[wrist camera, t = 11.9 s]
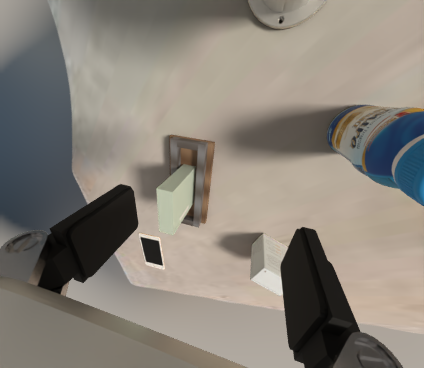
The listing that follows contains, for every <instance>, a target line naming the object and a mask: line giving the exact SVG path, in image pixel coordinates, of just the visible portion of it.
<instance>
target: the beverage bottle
mask: <svg viewBox="0 0 424 368" xmlns="http://www.w3.org/2000/svg"><path fill="white" fill-rule="evenodd" d="M327 141H328V144H329V146H330V147H331V148H332V149H333V150H334V151H335V152H337V153H339V154H341V155H342V156H344V157H345V158H346V159H347V160H349V161H350V162H351V163H352V164H353V166H354V167H355V168H356V169H357V170H358V171H360V172H361V173H363V174H364V175H366V176H368V177H369V178H371V179H372V180H373V181H375V182H377V183H379V184H381V185H384V186H388V187H392V188H398V189H400V190H401V191H403V192H404V193H405V194H407V195H408V196H409V197H411V198H412V199H414V200H415V201H417V202H418V203H419V204H421V205H422V206H424V109H421V108H412V107H406V108H391V107H378V106H372V105H357V106H353V107H350V108H348V109H346V110H344V111H343V112H341V113H340V114H339V115H337V116H336V117H335V118H334V120H333V121H332V122H331V124H330V126H329V128H328V131H327Z"/></svg>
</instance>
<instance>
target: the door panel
mask: <svg viewBox="0 0 424 368" xmlns="http://www.w3.org/2000/svg"><path fill="white" fill-rule="evenodd" d="M195 176H196V166H191V165H186V164H183V165H182V166H181V167H180V168H179V169H178V170H177V171H175V172H174V173H173V174H172V175H171V176H170V177H169V178H168V179H166V180H165V181H164V182H163V183H162V184H161V185H160V186H159V187H157V188H156V191H157V206H158V221H159V232H162V233H166V234H170V235H174V233H175V232H176V230H177V229H178V227H179V225H180V224H181V222H182V221H183V219H184V217H185V216H186V214H187V213H188V211H189V209H190V208H191V206H192V205H193V203H194V193H195Z"/></svg>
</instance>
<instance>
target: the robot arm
mask: <svg viewBox="0 0 424 368" xmlns="http://www.w3.org/2000/svg"><path fill="white" fill-rule="evenodd" d="M326 1H327V0H248V3H249V6H250V8H251V10H252V12H253V14H254V15H255V17H256V18H257V19H258V20H259V21H260V22H261V23H263V24H264V25H266V26H268V27H271V28H275V29H286V28H291V27H294V26H297V25H299V24H301V23H303V22H304V21H306V20H308V19H309V18H310V17H312V16H313V15H314V14H315V13H316V12H317V11H318V10H319V9H320V8H321V7H322V6H323V5H324V4H325V2H326ZM280 20H282V23H281V24H280V23H279V21H280ZM137 227H138V218H137V211H136V204H135V197H134V191H133V190H132V188H131V187H130V186H127V185H122V184H120V185H118V186H116V187H115V188H113V189H112V190H110V191H108V192H107V193H105V194H104V195H102V196H100V197H99V198H97V199H96V200H94V201H92V202H91V203H89V204H88V205H86V206H85V207H83V208H81V209H80V210H78V211H77V212H75V213H74V214H72V215H70V216H69V217H67V218H66V219H64V220H62V221H61V222H59V223H58V224H56V225H54V226H53V227H52V228H50V230H51V234H50V235H48V234H47V233H46V232H45V231H42V230H34V231H29V232H25V233H22V234H19V235H17V236H15V237H13V238H11V239H10V240H9V241H7V242H6V243H5V244H4V245H3V246H2V247H1V248H0V368H246V367H245V366H242V365H240V364H237V363H235V362H232V361H230V360H227V359H225V358H222V357H219V356H217V355H214V354H212V353H209V352H207V351H204V350H202V349H199V348H197V347H194V346H192V345H189V344H187V343H184V342H182V341H179V340H177V339H174V338H171V337H169V336H166V335H164V334H161V333H159V332H156V331H153V330H151V329H148V328H145V327H143V326H141V325H138V324H136V323H133V322H130V321H128V320H125V319H123V318H120V317H118V316H115V315H112V314H110V313H107V312H105V311H102V310H99V309H97V308H94V307H92V306H89V305H86V304H84V303H81V302H79V301H76V300H73V299H71V298H68V297H66V293H67V289H68V284H69V281H70V280H71V279H72V278H74V280H76V281H79V282H82V283H84V282H85V281H86V280H87V278H88V277H91V276H93V275H94V274H95V273H96V272H97V270H99V268H100V267H101V266H102V265H103V264H104V263H105V262H106V261H107V260H108V259H109V258H110V257H111V255H113V253H114V252H115V251H116V250H117V249H118V248H119V247H120V246H121V245H122V244H123V243H124V242H125V241H126V240H127V238H128V237H129V236H130V235H131V234H132V233H133V232H134V231H135V230H136V229H137ZM280 271H281V280H282V290H283V299H284V308H285V316H286V326H287V335H288V344H289V348H290V349H291V350H293V352H294V359H295V361H298V362H301V363H304V366H305V368H403V367H402V365H401V363H400V362H399V361H398V359H397V358H396V357H395V356H394V355H393V353H392V352H391V351H390V350H389V349H388V348H387V347H386V346H385V345H384V344H382V343H381V342H379V341H378V340H377V339H375V338H374V337H372V336H370V335H368V334H366V333H362V332H360V330H359V327H358V325H357V322H356V320H355V318H354V315H353V313H352V311H351V308H350V306H349V303H348V301H347V299H346V296H345V294H344V291H343V289H342V287H341V284H340V282H339V279H338V277H337V275H336V272H335V270H334V268H333V266H332V264H331V263H330V262H329V261H328V260H327V258H326V255H325V253H324V250H323V248H322V245H321V243H320V240H319V238H318V235H317V233H316V231H315V230H313V229H309V228H305V227H302V228H301V229H297V230H296V232H295V234H294V236H293V238H292V240H291V243H290V245H289V247H288V249H287V251H286V253H285V256H284V258H283V260H282V262H281V266H280Z"/></svg>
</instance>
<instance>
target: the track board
mask: <svg viewBox="0 0 424 368" xmlns="http://www.w3.org/2000/svg"><path fill="white" fill-rule="evenodd" d="M169 145H170V176H171V175H172V174H173V173H174V172H175V171H177V170H178V169H179V168H180V167H181V166H182V165H183V164H186V165H191V166H196V176H195V193H194V203H193V205H192V206H191V208H190V209H189V211H188V213H187V214H186V216H185V217H184V219H183V221H182V222H181V223H183V224H187V225H191V226H195V227H198V228H199V225H200V223H204V224H205V223H206V219H207V210H208V201H209V192H210V183H211V174H212V165H213V155H214V146H215V142H211V141H206V140H200V139H194V138H188V137H182V136H176V135H170V136H169Z"/></svg>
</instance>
